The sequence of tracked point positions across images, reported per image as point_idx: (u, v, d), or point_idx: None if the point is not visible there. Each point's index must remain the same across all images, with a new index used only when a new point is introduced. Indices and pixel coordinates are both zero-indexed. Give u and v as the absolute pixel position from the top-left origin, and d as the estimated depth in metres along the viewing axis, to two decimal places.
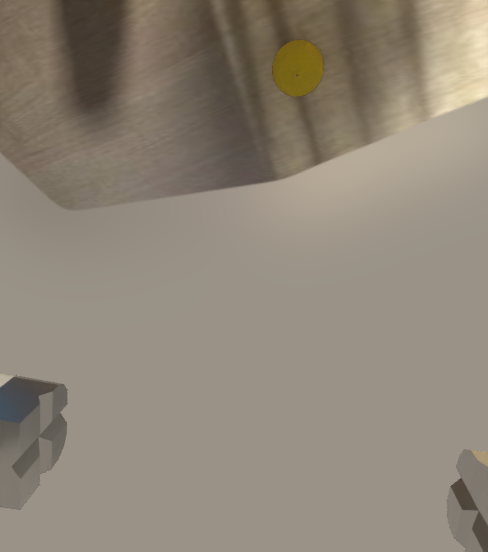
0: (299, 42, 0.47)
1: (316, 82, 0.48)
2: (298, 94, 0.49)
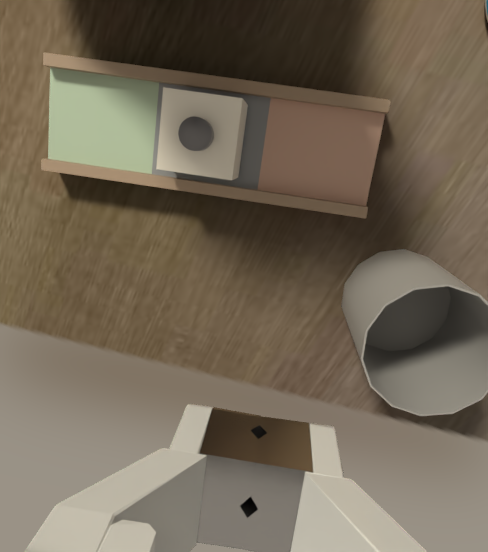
0: None
1: None
2: None
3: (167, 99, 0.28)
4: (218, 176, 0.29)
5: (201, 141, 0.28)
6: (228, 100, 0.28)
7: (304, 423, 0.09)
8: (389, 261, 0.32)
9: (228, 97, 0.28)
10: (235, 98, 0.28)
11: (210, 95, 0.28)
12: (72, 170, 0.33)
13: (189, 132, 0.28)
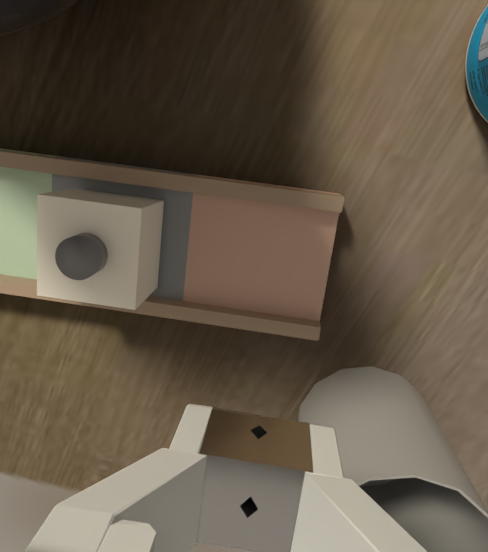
0: None
1: None
2: None
3: (44, 209, 0.21)
4: (117, 305, 0.22)
5: (86, 268, 0.21)
6: (123, 211, 0.21)
7: (304, 423, 0.09)
8: (349, 396, 0.25)
9: (123, 207, 0.21)
10: (132, 208, 0.21)
11: (99, 204, 0.21)
12: None
13: (69, 257, 0.21)
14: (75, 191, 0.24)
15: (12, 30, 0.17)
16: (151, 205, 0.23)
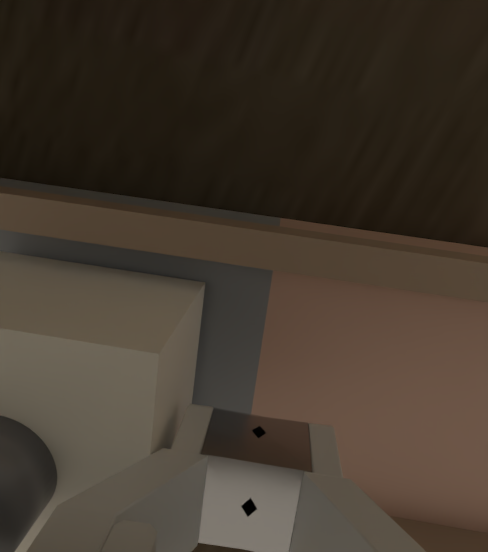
0: None
1: None
2: None
3: None
4: None
5: None
6: (102, 360, 0.07)
7: (303, 423, 0.09)
8: None
9: (101, 349, 0.07)
10: (130, 353, 0.07)
11: (29, 338, 0.07)
12: None
13: None
14: None
15: None
16: (182, 317, 0.08)
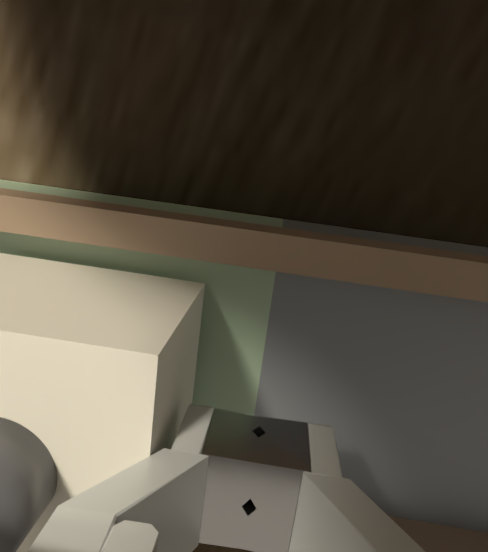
0: None
1: None
2: None
3: None
4: None
5: None
6: (101, 361, 0.07)
7: (303, 423, 0.09)
8: None
9: (100, 351, 0.07)
10: (129, 354, 0.07)
11: (28, 339, 0.07)
12: None
13: None
14: None
15: None
16: (181, 319, 0.08)
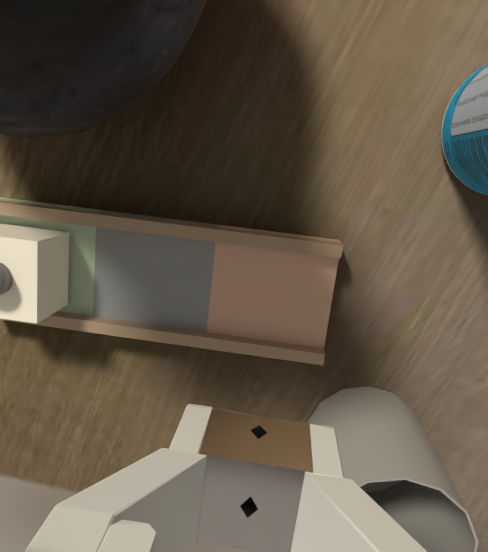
0: None
1: None
2: None
3: None
4: (22, 319, 0.27)
5: None
6: (23, 244, 0.26)
7: (304, 423, 0.09)
8: (350, 412, 0.30)
9: (22, 240, 0.26)
10: (30, 241, 0.26)
11: (4, 238, 0.26)
12: None
13: None
14: None
15: (83, 130, 0.21)
16: (51, 237, 0.28)
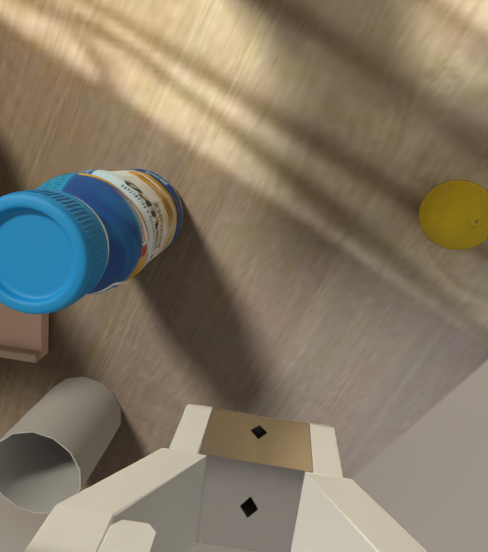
0: (442, 189, 0.35)
1: None
2: (485, 239, 0.35)
3: None
4: None
5: None
6: None
7: (304, 423, 0.09)
8: (51, 393, 0.45)
9: None
10: None
11: None
12: None
13: None
14: None
15: None
16: None
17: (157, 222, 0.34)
